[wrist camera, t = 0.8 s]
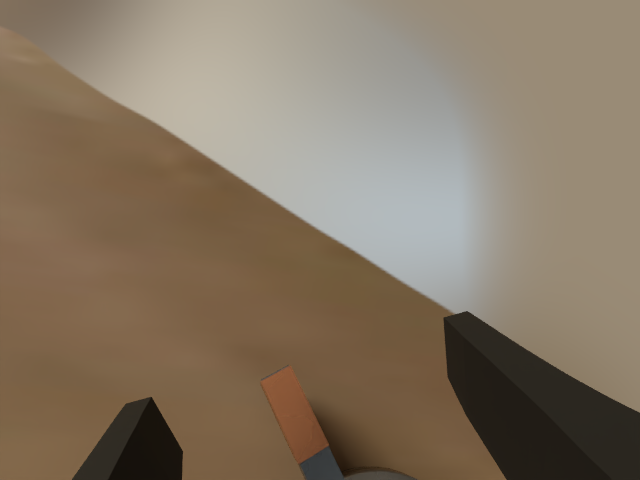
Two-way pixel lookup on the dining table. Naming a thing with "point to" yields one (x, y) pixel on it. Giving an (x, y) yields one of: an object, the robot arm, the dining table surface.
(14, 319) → the dining table surface
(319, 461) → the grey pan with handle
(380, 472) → the rounded grey metal base
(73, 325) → the dining table surface
